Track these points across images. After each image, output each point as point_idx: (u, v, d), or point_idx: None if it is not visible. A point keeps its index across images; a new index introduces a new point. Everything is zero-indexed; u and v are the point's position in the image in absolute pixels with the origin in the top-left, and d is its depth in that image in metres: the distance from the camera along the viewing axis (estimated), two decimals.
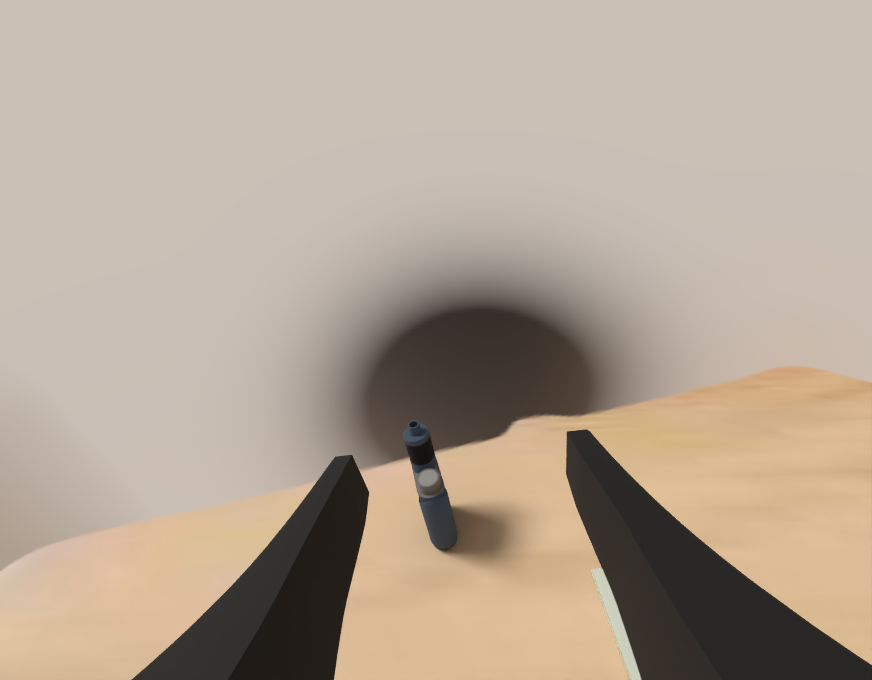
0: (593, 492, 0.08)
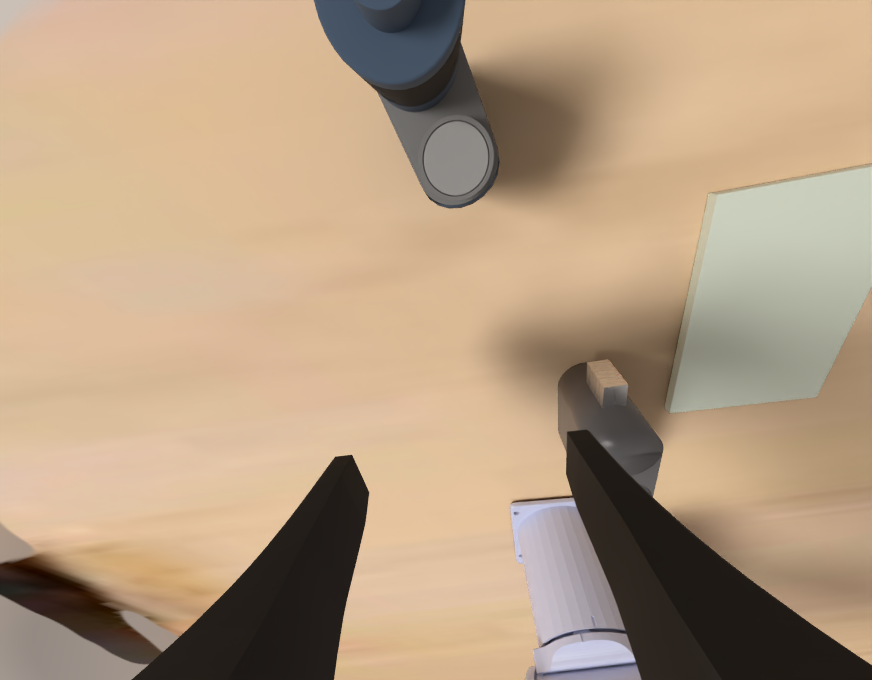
0: (593, 492, 0.08)
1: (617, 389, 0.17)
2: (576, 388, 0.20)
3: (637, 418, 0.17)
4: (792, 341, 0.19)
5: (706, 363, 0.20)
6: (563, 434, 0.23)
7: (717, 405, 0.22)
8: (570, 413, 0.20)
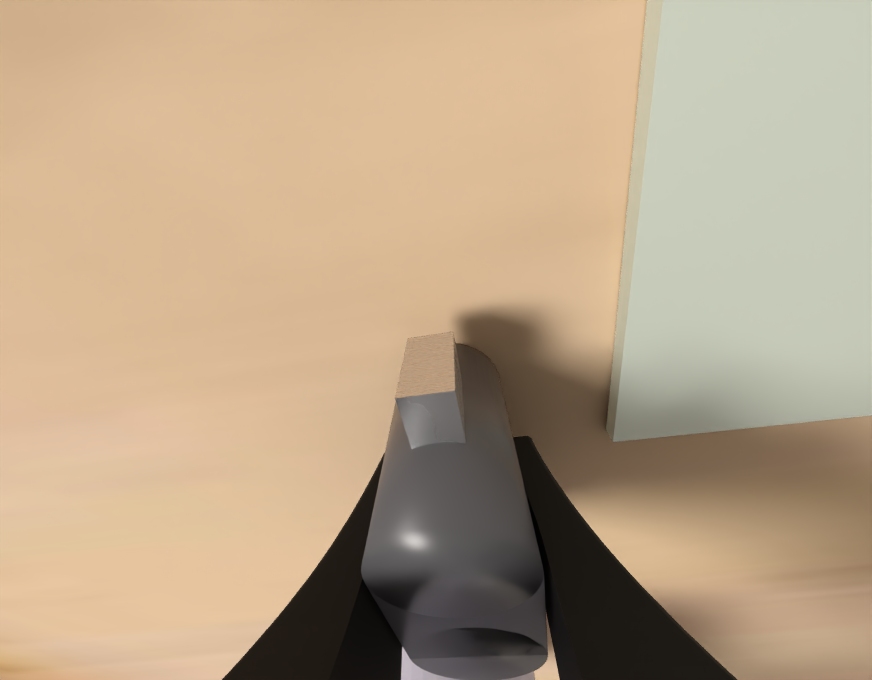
0: None
1: (431, 402, 0.06)
2: None
3: (478, 481, 0.06)
4: (864, 293, 0.09)
5: (678, 345, 0.10)
6: None
7: (703, 427, 0.11)
8: None
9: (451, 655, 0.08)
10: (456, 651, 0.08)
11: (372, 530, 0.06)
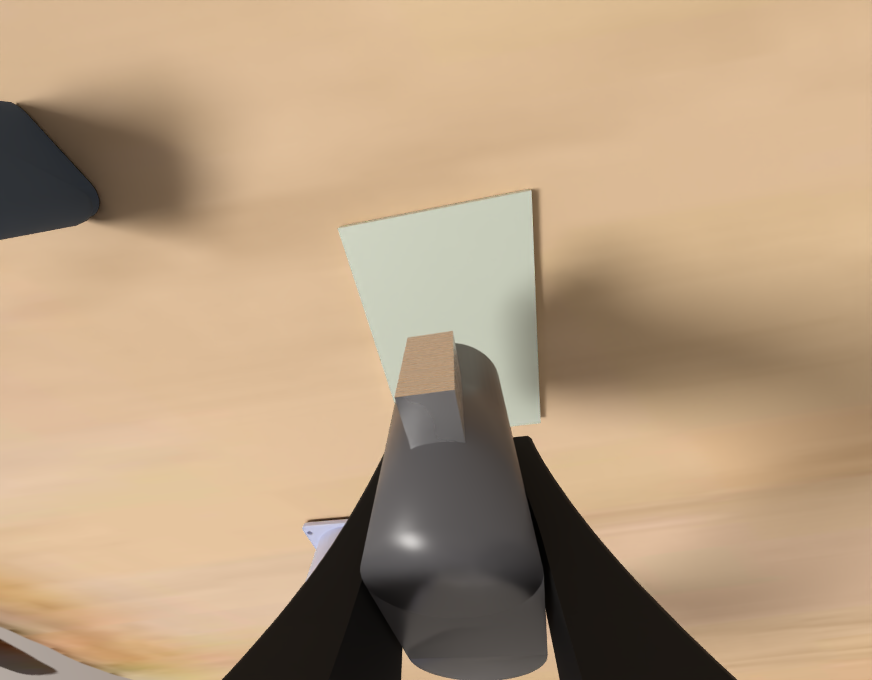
0: None
1: (430, 402, 0.06)
2: None
3: (478, 480, 0.06)
4: None
5: None
6: None
7: None
8: None
9: (451, 655, 0.08)
10: (455, 651, 0.08)
11: (371, 530, 0.06)
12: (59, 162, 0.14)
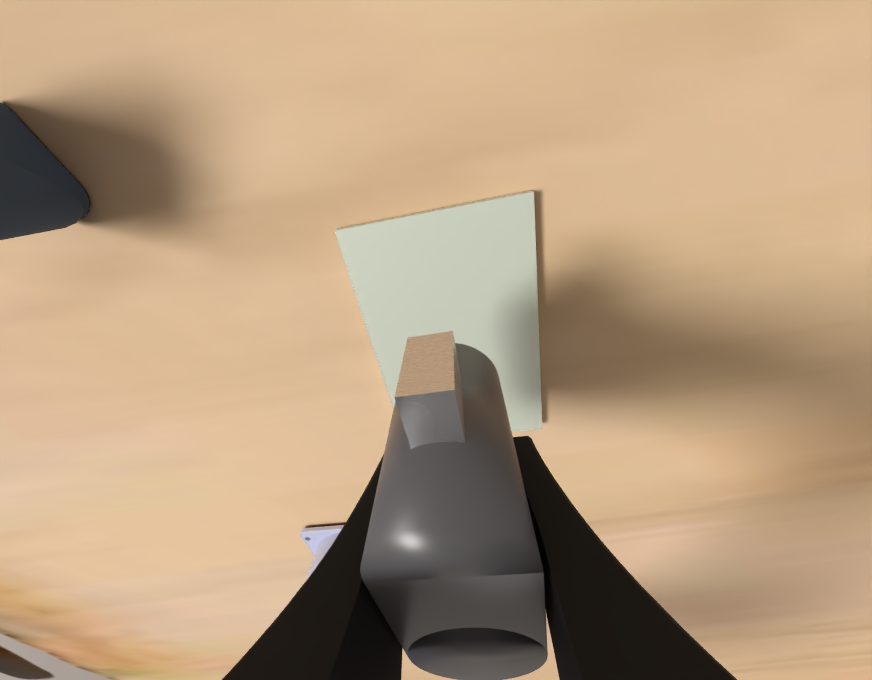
0: None
1: (430, 401, 0.06)
2: None
3: (478, 480, 0.06)
4: None
5: None
6: None
7: None
8: None
9: (450, 655, 0.08)
10: (455, 651, 0.08)
11: (371, 529, 0.06)
12: (47, 162, 0.14)
